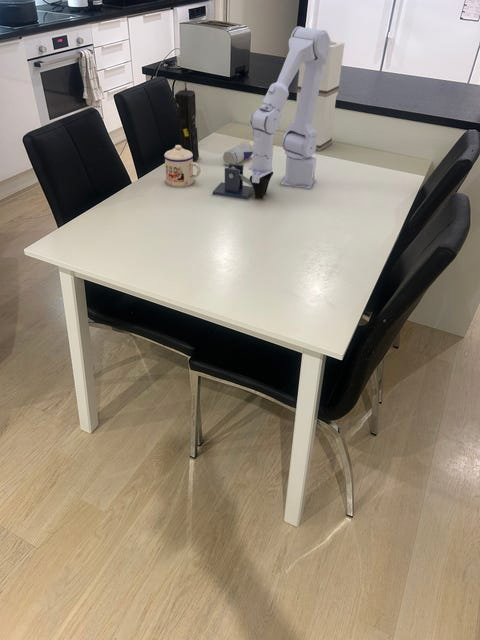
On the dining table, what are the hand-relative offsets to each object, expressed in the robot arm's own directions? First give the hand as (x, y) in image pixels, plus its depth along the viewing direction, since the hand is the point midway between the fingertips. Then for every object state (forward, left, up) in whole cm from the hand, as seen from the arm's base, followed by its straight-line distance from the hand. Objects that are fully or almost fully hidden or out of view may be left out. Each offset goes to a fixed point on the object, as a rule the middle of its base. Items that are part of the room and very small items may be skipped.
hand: (260, 197), depth 156 cm
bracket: (+9, 0, 0) cm, 9 cm away
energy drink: (+17, -21, +3) cm, 27 cm away
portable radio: (+32, -21, 0) cm, 38 cm away
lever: (+5, 0, +3) cm, 6 cm away
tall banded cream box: (-6, -55, 0) cm, 55 cm away
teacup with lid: (+26, -2, 0) cm, 26 cm away
